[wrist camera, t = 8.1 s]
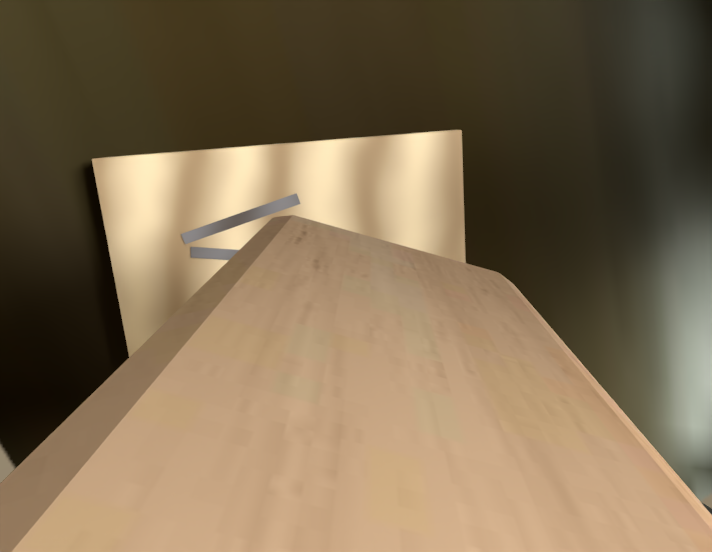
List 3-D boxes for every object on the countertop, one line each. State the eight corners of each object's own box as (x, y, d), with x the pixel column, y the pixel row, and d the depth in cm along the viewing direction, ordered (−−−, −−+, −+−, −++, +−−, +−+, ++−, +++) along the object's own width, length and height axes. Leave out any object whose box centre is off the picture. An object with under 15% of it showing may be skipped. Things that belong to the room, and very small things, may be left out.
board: (457, 129, 42) (461, 130, 40) (464, 338, 46) (468, 348, 44) (104, 157, 43) (90, 159, 41) (141, 358, 47) (130, 368, 45)
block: (440, 485, 26) (647, 1611, 6) (217, 427, 25) (-295, 1444, 6) (517, 272, 23) (1272, 1069, 4) (271, 203, 23) (-323, 697, 3)
